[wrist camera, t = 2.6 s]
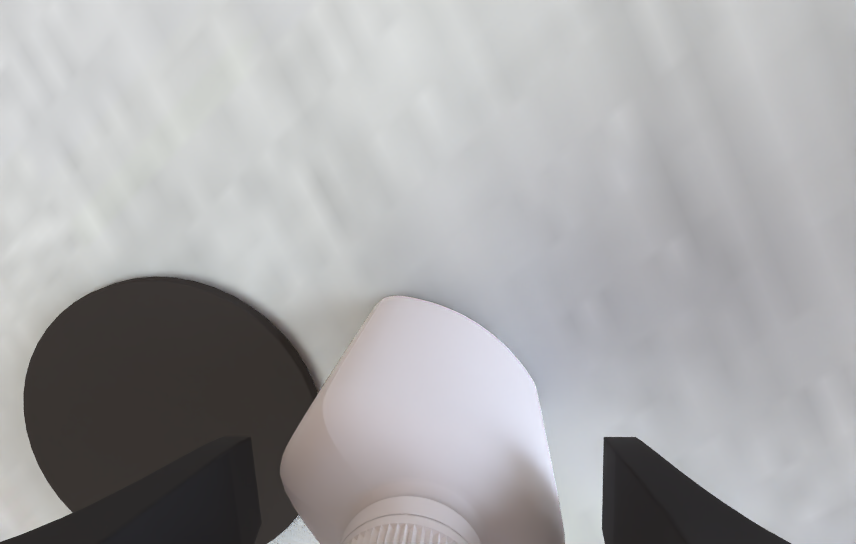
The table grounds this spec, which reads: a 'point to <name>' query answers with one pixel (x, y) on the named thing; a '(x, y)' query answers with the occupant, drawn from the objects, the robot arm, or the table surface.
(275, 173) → the table surface
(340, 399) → the eye dropper bottle
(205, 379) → the coaster
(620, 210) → the table surface
